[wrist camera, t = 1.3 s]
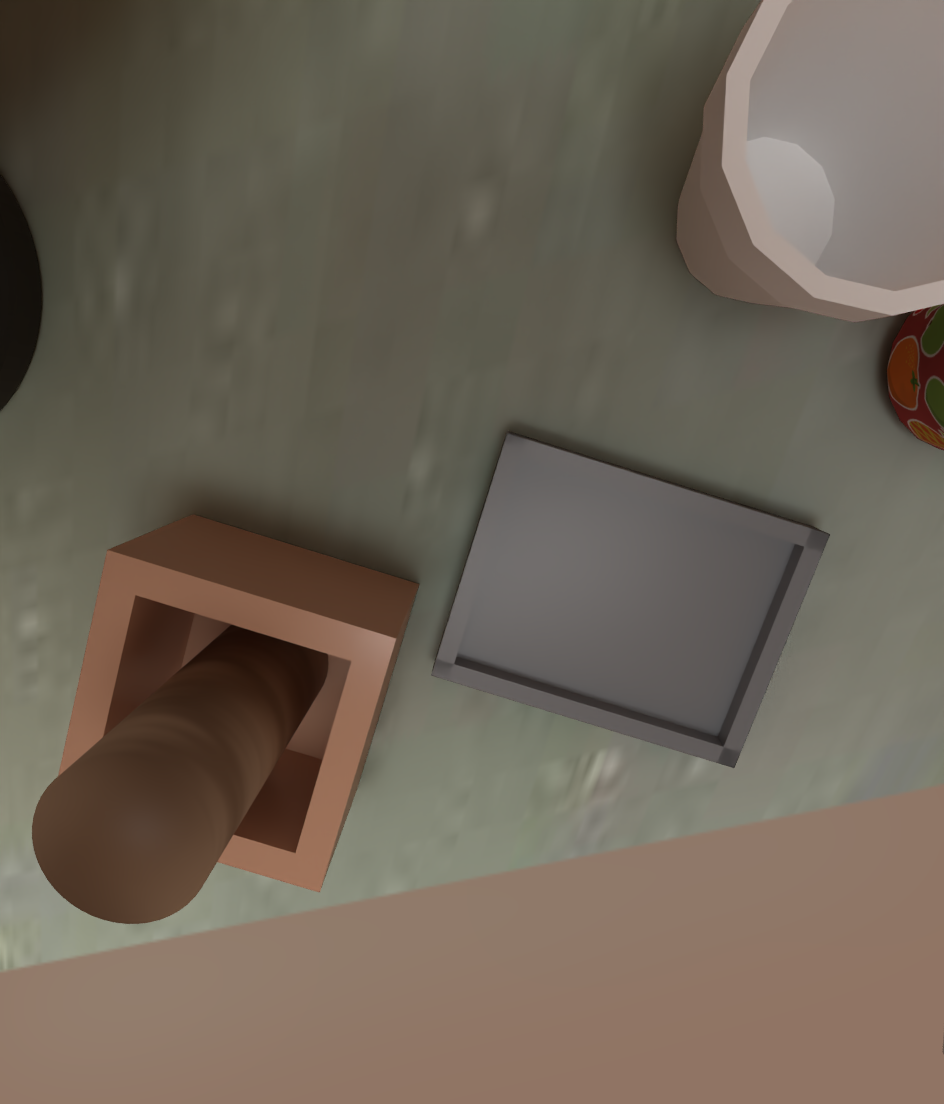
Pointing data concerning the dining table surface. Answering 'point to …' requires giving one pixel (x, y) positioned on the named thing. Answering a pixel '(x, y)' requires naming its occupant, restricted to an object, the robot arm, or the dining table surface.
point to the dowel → (174, 779)
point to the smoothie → (920, 374)
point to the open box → (268, 608)
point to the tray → (625, 600)
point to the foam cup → (824, 161)
